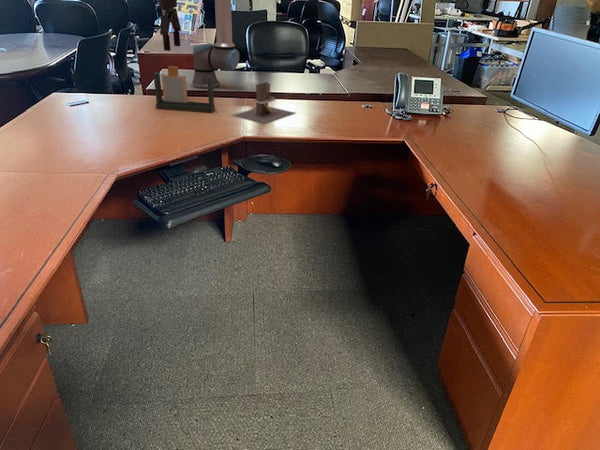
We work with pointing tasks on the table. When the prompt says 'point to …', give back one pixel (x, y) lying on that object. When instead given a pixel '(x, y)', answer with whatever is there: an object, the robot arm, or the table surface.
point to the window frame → (184, 106)
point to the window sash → (174, 86)
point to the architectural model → (263, 107)
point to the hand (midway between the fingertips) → (172, 48)
